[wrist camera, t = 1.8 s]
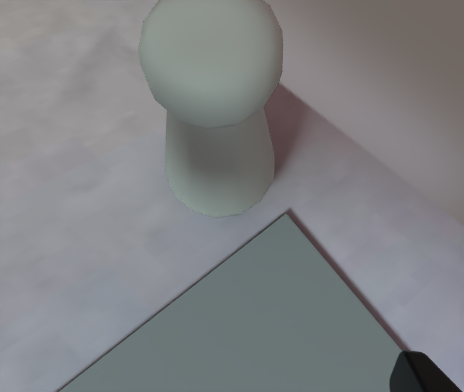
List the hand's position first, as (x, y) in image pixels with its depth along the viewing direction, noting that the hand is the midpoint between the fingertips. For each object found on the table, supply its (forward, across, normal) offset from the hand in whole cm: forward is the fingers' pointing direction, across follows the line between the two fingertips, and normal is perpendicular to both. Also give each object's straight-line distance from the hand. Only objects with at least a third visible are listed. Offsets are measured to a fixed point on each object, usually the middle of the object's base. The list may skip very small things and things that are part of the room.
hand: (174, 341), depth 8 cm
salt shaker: (+15, 0, +4) cm, 16 cm away
